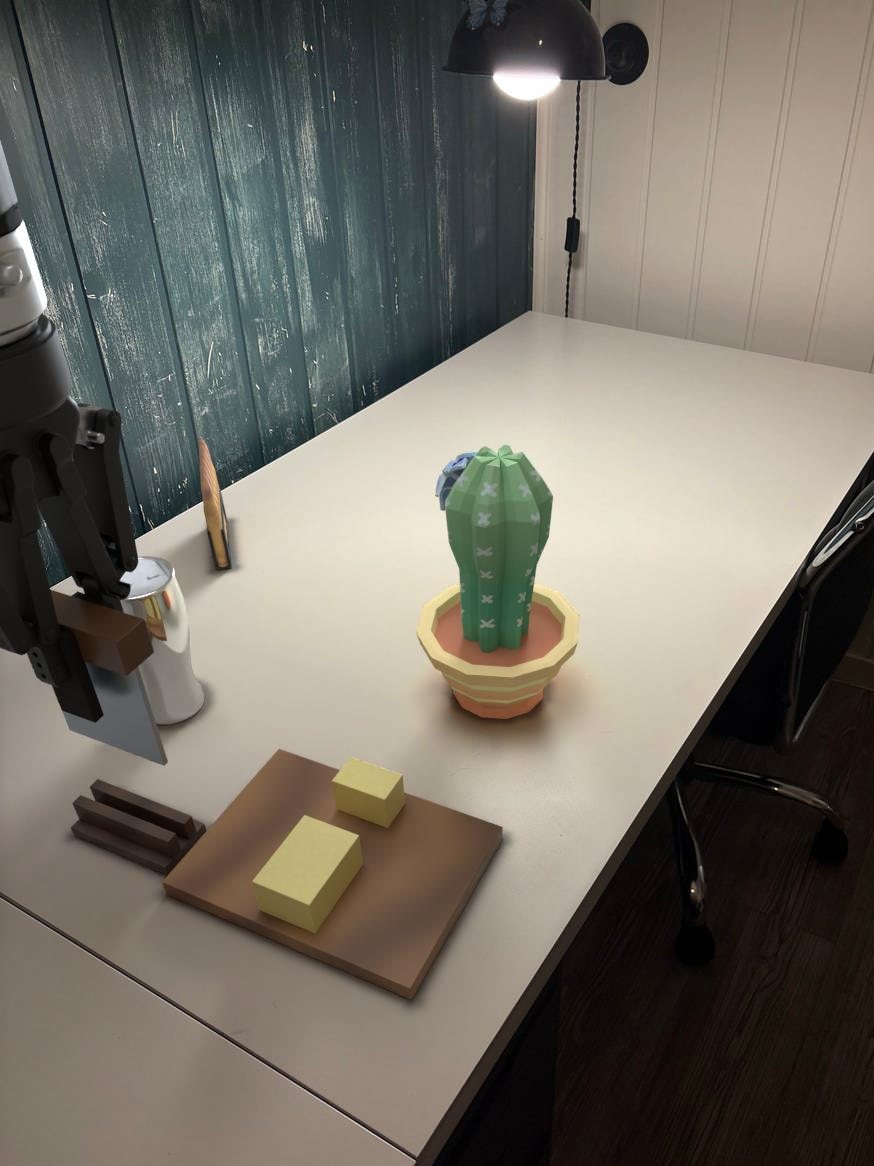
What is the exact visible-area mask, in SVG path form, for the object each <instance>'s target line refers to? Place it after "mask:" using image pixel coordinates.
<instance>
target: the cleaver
mask: <svg viewBox="0 0 874 1166" xmlns="http://www.w3.org/2000/svg"><path fill="white" fill-rule="evenodd" d="M50 590H51V594H52V599H53V603H54V607H55V611H56V616H57V620H58V624H59V627H60V628H63V629H66V630H69V631H72V632H74V634H75V637H76V640H77V642H78V645H79V648H80V651H81V654H82V656H83V659H84V661H85V664H86V666H87V669H88V672H89V675H90V678H91V680H92V683H93V686H94V689H95V691H96V694H97V697H98V700H99V703H100V705H101V708H102V711H103V714H104V716H103V717H102V718H100V719H99V720H98V721H97V722H96V723H94V722H91V721H89V720H86V719H83V718H81V717H78V716H75V715H72V714H70V713H67V712H64V711H62V710H61V712H62V714H63V717H64V719H65V723H66V725H67V727H68V730H69V731H71V732H73V733H76V734H79V735H82V736H84V737H87V738H88V739H89V738H90V739H92V740H95V741H97V742H100V743H103V744H105V745H108V746H111V747H113V748H117V749H119V750H121V751H123V752H127V753H128V754H129V753H130V754H132V755H134V756H137V757H140V758H142V759H145V760H148V761H150V762H152V763H156V764H158V765H161V766H162V767H163V766H166V765H167V764H168V763H169V760H168V757H167V754H166V750H165V748H164V744H163V741H162V738H161V734H160V731H159V728H158V724H156V721H155V718H154V715H153V712H152V708H151V705H150V702H149V699H148V696H147V692H146V689H145V686H144V683H143V679H142V676H141V673H140V670H139V667H138V666H139V665H140V664H142V663H143V662H144V661H145V660H146V659H147V658H148V657H150V656H151V655H152V654H153V653H154V649H153V646H152V642H151V639H150V635H149V632H148V629H147V625H146V622H145V619H143V618H139V617H136V616H133V615H130V614H127V613H123V612H120V611H117V610H114V609H111V608H108V607H104V606H101V605H98V604H95V603H92V602H88V601H85V600H82V599H79V598H76V597H73V596H72V595H69V594H65V593H63V592H59V591H56V590H53V589H50Z"/></svg>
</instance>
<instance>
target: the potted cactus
mask: <svg viewBox="0 0 874 1166" xmlns="http://www.w3.org/2000/svg"><path fill="white" fill-rule="evenodd" d="M532 463H533V462H531V461H530V459H529V458H528V457H527V456H526V454H525V453H524V452H523V451H520V452H516V453H514V452H513V450H512V447H511V445H509V444H503V445H501V446H500V447H499V448H498V449H497V453H496V451H494V450H493V449H492V448H490V447H488V446H486V445H484V446H482V447H480V449H479V450H478V451H477V452H476V451H473V450H469V451H465V452H464V453H461V454H458V455H456V457H455V459H451V460H450V461H449V462H448V463H447V464H446V465H445V467H444V468H443V469H442V470H441V472H442V473H440V474H439V476H438V479H437V481H436V485H435V495H434V496H435V497H437V498H439V499H438V500H439V509H440V511H442V512H445V520H446V529H447V538H448V544H449V547H450V549H451V552H452V554H453V557H454V559H455V562H456V564H457V567H458V574H459V575H458V576H459V583H458V584H454V585H450V586H448V587H446V588H445V589H443V591H441V592H440V593H439V594H437V595H436V596H435V597H433V598H431V600H430V601H428V602H426V603H425V604H424V605H422V609H421V613H420V615H419V619H418V623H417V626H416V630H415V634H416V636H417V639H418V643H419V645H420V646H421V648H422V649H423V651H424V653H425V654H426V656H427V658H428V659H429V661H430V663H431V664H432V666H433V668H434V669H435V670H436V671H437V670H438V671H439V672H440V673H441V675H442V677H443V678H444V679H445V681H446V683H447V684H448V686H449V687H450V688H451V689H452V694H453V696H454V697H455V698H456V700H457V701H458V703H459V705H460V706H461V708H462V709H464V710H466V711H469V712H470V713H472V714H474V715H476V716H478V717H480V718H483V719H484V718H485V719H498V720H499V719H500V720H508V719H511V718H514V717H518V716H521V715H525V714H528V713H530V711H531V710H533V708H535V707H536V706H537V705H538V704H539V703H540V702H541V701H542V700H543V699H544V698H543V697H544V688H545V687H546V686H547V685H549V684H550V682H552V681H553V680H554V678H556V677H557V675H558V674H559V671H560V670H561V667H562V666H564V664H565V663H566V662H568V660H569V659H570V658H571V657H572V656H574V654H575V652H576V649H577V646H578V643H579V634H580V633H579V632H580V619H581V617H580V614H579V613H578V611H576V610H575V608H574V607H573V606H572V605H571V604H570V602H569V601H568V600H567V599H566V598H565V596H564V595H563V594H562V593H561V592H559V591H556V590H554V589H551V588H549V587H546V586H544V585H541V584H540V583H537V582H535V580H536V574H537V567H538V563H539V561H540V560H541V559H540V558H541V556H542V554H543V552H544V549H545V547H546V545H547V543H548V540H549V538H550V531H551V521H552V511H553V502H554V495H553V493H552V490H551V489H550V487H549V486H548V484H547V483H546V481H545V479H544V478H543V476H542V475H541V473H540V472H539V471H538V469H536V467H535V466H534V465H533V464H532Z"/></svg>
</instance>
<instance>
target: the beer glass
mask: <svg viewBox="0 0 874 1166" xmlns="http://www.w3.org/2000/svg"><path fill="white" fill-rule="evenodd" d="M120 581H122V582H125V583H128V584H130V586H131V590H130V594H129V596H128V597H127V598H126V599H124V600H120V601H121V604H122V607H123V611H124V613H127V614H130V615H133V616H136V617H139V618H143V619H145V622H146V625H147V629H148V632H149V635H150V639H151V642H152V646H153V649H154V653H153V654H152V655H151V656H150V657H148V658H147V659H146V660H145V661H144V662H143V663H142V664H140V665H139V666H138V667H139V670H140V673H141V676H142V679H143V683H144V686H145V689H146V692H147V696H148V699H149V702H150V705H151V708H152V712H153V715H154V718H155V721H156V724H157V725H174V724H178V723H182V722H184V721H186V720H189V719H190V718H192V717H193V716H194V715H195V714H197V713H198V712H199V711H200V710H201V709H202V707H203V706H204V702H205V692H204V689H203V687H202V686H201V684H200V682H199V680H198V678H197V677H196V674H195V671H194V669H193V663H192V647H191V627H190V619H189V614H188V609H187V604H186V601H185V598H184V594H183V591H182V589H181V585H180V583H179V580H178V579H177V576H176V573H175V569H174V566H173V565H172V564H171V563H170V562H169V561H168V560H166V559H163V558H161V557H157V556H138V565H137V567H136V569H135V570H134V571H133V572H127V571H126V572H125V574H124V575H123V576H122V578H121V579H120Z"/></svg>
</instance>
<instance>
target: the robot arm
mask: <svg viewBox="0 0 874 1166" xmlns="http://www.w3.org/2000/svg"><path fill="white" fill-rule="evenodd" d="M12 179H13V178H12V176H11V173H10V168H9V166H8V162H7V158H6V154H5V150H4V147H3V144H2V140H1V139H0V649H1V650H4V651H6V652H9V653H13V654H16V655H19V656H24V655H26V656H27V657H28V660H29V662H30V664H31V667H32V669H33V673H34V675H35V677H36V678H37V679H38V680H39V681H40V682H42V683H43V684H47V685H49V686H51V687H52V689H53V692H54V695H55V697H56V700H57V702H58V705H59V707H60V710H61V712H62V711H64V712H67V713H70V714H72V715H75V716H78V717H81V718H83V719H86V720H89V721H91V722H94V723H96V722H97V721H98V720H99V719H100V718H102V717H103V716H104V714H103V711H102V708H101V705H100V703H99V700H98V697H97V694H96V691H95V689H94V686H93V683H92V680H91V678H90V675H89V672H88V669H87V666H86V664H85V661H84V659H83V656H82V654H81V651H80V648H79V645H78V642H77V640H76V637H75V634H74V632H72V631H69V630H66V629H63V628H60V627H59V624H58V620H57V616H56V611H55V607H54V603H53V599H52V594H51V590H52V589H51V586H50V582H49V577H48V573H47V570H46V566H45V561H44V557H43V552H42V548H41V544H40V539H39V536H38V531H39V530H40V529H41V528H42V520H41V516H42V519H43V521H44V523H45V525H46V527H47V528H48V531H49V532H50V535H51V537H52V539H53V541H54V543H55V545H56V547H57V549H58V551H59V553H60V555H61V557H62V559H63V561H64V563H65V565H66V567H67V569H68V571H69V574H70V575H71V578H72V580H73V581H74V583H75V586H76V587H78V588H80V589H82V590H83V592H81V591H76V592H74V593H73V594H72V595H71V596H73V597H76V598H79V599H82V600H85V601H88V602H92V603H95V604H98V605H101V606H104V607H108V608H111V609H114V610H117V611H120V612H123V613H124V611H123V607H122V604H121V601H120V600H124V599H126V598H127V597H128V596H129V594H130V590H131V586H130V584H128V583H125V582H122V581H120V579H121V578H122V576H123V575H124V574H125V572H126V571H127V572H133V571H134V570H135V569H136V567H137V565H138V557H139V555H138V549H137V544H136V543H137V542H136V538H135V532H134V528H133V527H134V526H133V521H132V517H131V516H132V515H131V511H130V510H131V509H130V504H129V500H128V493H127V487H126V482H125V477H124V471H123V465H122V461H121V455H120V446H121V445H120V444H121V434H122V422H123V421H122V416H121V413H120V412H119V411H118V410H115V409H111V408H106V407H102V406H97V405H93V404H89V403H84V402H79V403H77V402H76V401H75V400H74V399H73V397H71V396H70V395H71V392H72V390H73V389H72V388H73V380H72V377H71V373H70V369H69V367H68V363H67V360H66V356H65V352H64V349H63V345H62V343H61V340H60V336H59V333H58V329H57V326H56V324H55V322H54V321H53V320H52V319H50V318H49V317H48V316H47V315H45V314H44V312H45V310H46V309H47V305H48V297H47V295H46V291H45V287H44V284H43V281H42V277H41V274H40V271H39V267H38V264H37V261H36V256H35V254H34V251H33V247H32V243H31V241H30V237H29V234H28V231H27V227H26V223H25V221H24V218H23V216H22V214H21V211H20V207H19V203H18V197H17V193H16V190H15V187H14V182H13V180H12ZM40 515H41V516H40ZM113 544H114V546H113Z"/></svg>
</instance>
